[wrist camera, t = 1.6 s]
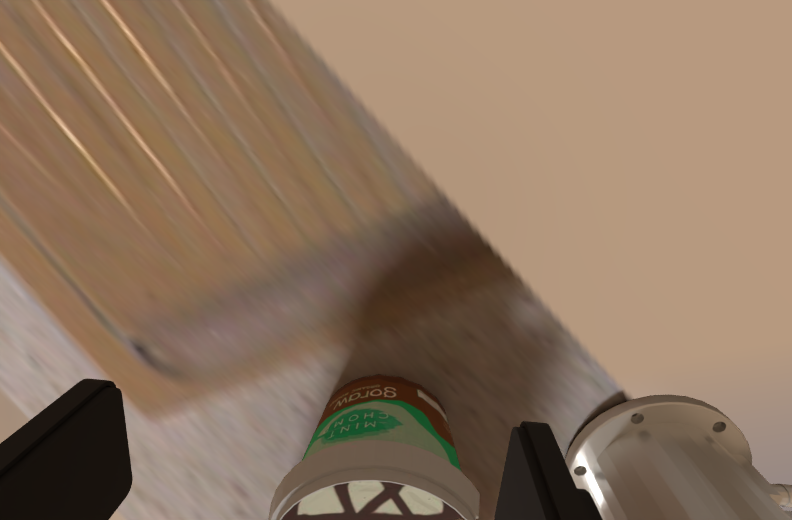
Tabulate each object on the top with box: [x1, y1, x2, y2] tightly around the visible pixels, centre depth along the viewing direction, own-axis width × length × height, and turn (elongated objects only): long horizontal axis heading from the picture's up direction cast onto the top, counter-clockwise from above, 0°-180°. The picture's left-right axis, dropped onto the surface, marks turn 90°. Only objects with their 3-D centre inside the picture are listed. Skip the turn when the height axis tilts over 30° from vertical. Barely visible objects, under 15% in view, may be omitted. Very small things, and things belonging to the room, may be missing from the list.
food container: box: [269, 375, 480, 520], centre depth 27 cm, size 12×6×10 cm, turn 118°
